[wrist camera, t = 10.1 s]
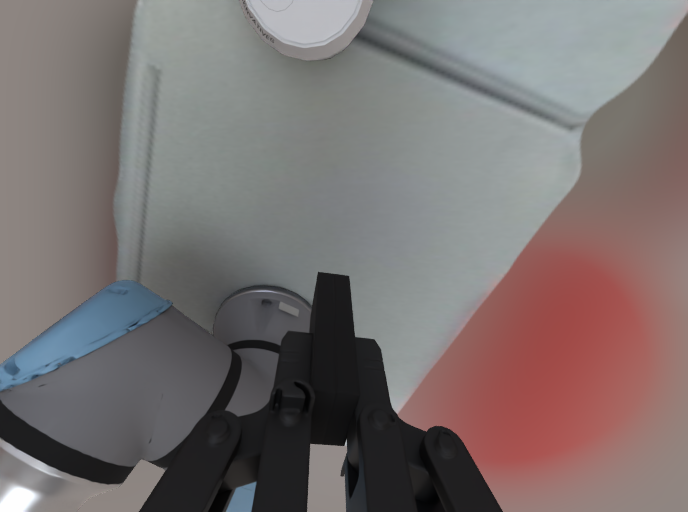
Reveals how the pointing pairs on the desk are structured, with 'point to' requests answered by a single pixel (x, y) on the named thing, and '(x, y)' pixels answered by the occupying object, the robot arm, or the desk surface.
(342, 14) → the supplement can
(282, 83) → the desk surface
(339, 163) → the desk surface
